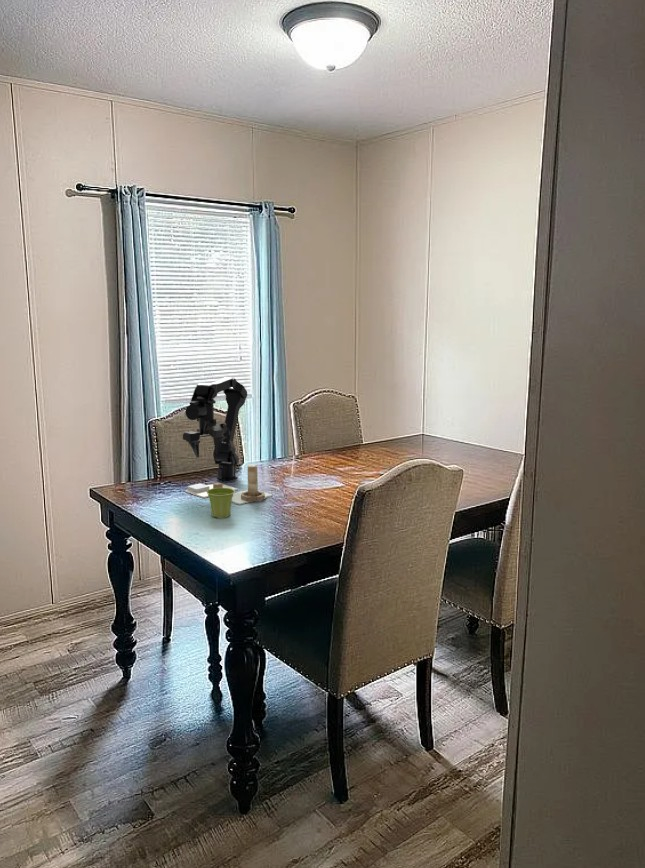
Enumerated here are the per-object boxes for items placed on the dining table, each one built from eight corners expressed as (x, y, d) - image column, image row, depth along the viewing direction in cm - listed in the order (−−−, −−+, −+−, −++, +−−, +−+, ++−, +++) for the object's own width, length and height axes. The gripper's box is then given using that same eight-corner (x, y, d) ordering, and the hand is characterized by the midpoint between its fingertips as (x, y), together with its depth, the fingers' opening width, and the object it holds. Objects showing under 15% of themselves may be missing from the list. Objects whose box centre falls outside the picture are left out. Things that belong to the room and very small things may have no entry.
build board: (252, 490, 262) (252, 484, 262) (276, 497, 252) (276, 492, 252) (219, 498, 251) (219, 492, 250) (243, 506, 241) (243, 500, 241)
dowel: (249, 496, 252) (249, 465, 249) (259, 496, 251) (258, 465, 249) (246, 498, 248) (246, 467, 246) (256, 499, 247) (255, 467, 245)
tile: (218, 484, 270) (218, 475, 270) (237, 490, 262) (237, 481, 261) (185, 491, 259) (185, 482, 258) (204, 498, 251) (203, 488, 250)
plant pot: (231, 510, 237) (230, 486, 235) (237, 518, 228) (237, 493, 226) (204, 513, 233) (204, 488, 232) (210, 521, 225) (209, 496, 223)
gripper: (198, 421, 248) (199, 462, 251) (238, 415, 261) (239, 455, 264) (181, 417, 255) (182, 457, 258) (220, 412, 269) (221, 450, 272)
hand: (207, 455), depth 263 cm, fingers open, 9 cm apart
